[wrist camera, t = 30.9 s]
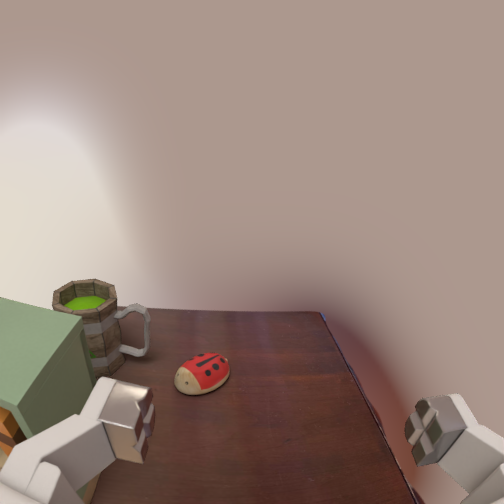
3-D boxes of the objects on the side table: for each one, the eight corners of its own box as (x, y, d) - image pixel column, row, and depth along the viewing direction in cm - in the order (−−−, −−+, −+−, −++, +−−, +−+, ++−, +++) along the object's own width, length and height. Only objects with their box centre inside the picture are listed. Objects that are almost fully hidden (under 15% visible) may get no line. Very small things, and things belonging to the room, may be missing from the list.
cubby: (87, 511, 22) (16, 406, 15) (-6, 468, 22) (-82, 351, 15) (113, 437, 33) (82, 316, 26) (28, 409, 33) (-16, 292, 26)
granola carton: (44, 481, 22) (2, 423, 18) (16, 468, 22) (-26, 408, 18) (58, 450, 27) (26, 388, 23) (31, 439, 26) (-2, 376, 22)
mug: (56, 373, 41) (38, 309, 37) (77, 334, 51) (66, 275, 47) (149, 387, 43) (142, 323, 39) (158, 344, 53) (155, 284, 49)
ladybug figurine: (164, 381, 45) (163, 364, 44) (210, 355, 52) (210, 339, 51) (194, 406, 41) (194, 389, 40) (240, 375, 48) (242, 358, 47)
